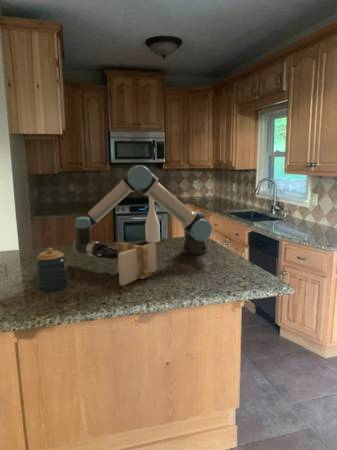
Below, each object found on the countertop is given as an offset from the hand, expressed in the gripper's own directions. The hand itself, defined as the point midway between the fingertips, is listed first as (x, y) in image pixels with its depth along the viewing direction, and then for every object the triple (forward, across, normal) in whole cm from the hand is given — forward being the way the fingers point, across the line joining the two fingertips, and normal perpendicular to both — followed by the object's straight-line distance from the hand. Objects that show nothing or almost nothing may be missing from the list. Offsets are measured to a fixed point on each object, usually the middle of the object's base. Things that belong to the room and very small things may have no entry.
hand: (132, 256), depth 160 cm
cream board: (+3, 0, -10) cm, 10 cm away
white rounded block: (-35, -59, -10) cm, 69 cm away
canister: (-21, +29, -10) cm, 37 cm away
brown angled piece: (0, 0, -8) cm, 8 cm away
